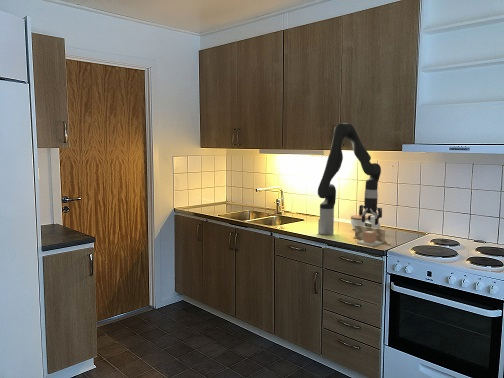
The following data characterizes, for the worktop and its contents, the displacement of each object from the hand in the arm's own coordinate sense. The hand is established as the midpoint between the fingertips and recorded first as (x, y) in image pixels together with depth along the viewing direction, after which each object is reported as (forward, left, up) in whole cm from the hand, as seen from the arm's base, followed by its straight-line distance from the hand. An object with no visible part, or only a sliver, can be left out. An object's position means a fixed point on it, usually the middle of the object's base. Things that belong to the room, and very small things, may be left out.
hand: (369, 223), depth 257 cm
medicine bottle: (-15, +28, -13) cm, 34 cm away
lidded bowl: (-27, +32, -13) cm, 44 cm away
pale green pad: (0, 0, -12) cm, 12 cm away
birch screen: (-5, +8, -12) cm, 16 cm away
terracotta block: (0, 0, -11) cm, 11 cm away
